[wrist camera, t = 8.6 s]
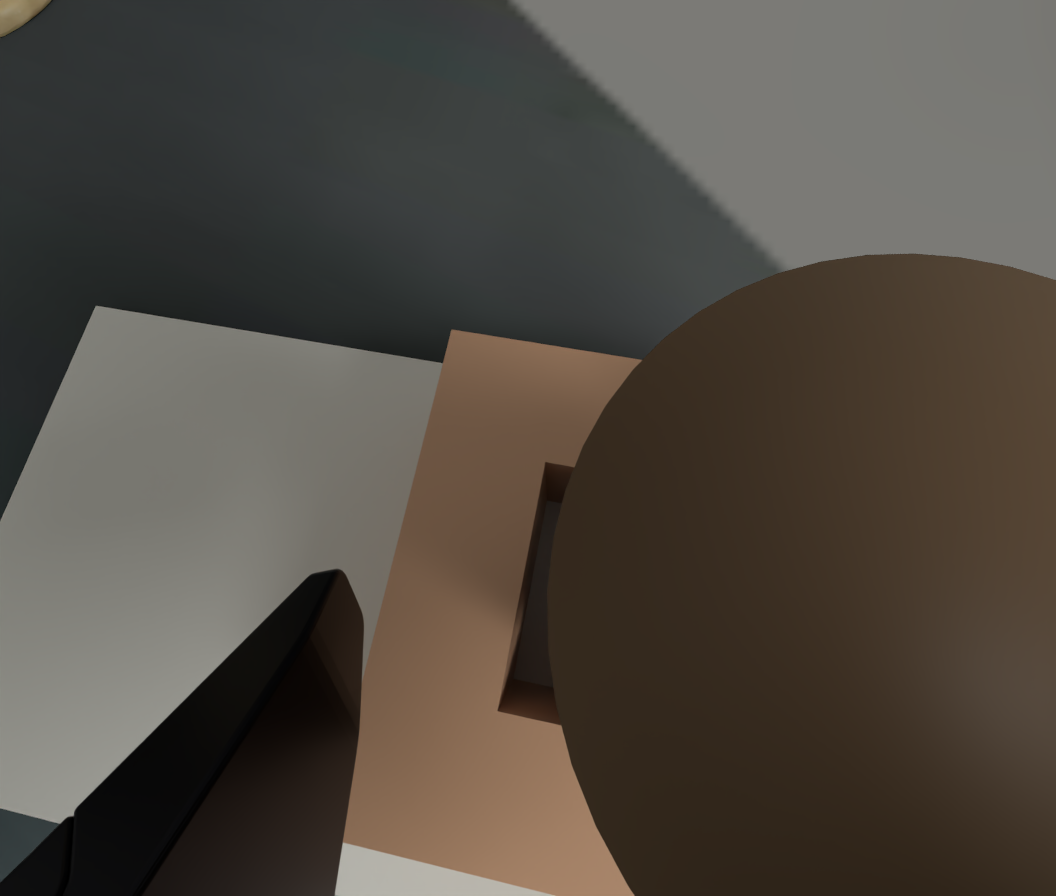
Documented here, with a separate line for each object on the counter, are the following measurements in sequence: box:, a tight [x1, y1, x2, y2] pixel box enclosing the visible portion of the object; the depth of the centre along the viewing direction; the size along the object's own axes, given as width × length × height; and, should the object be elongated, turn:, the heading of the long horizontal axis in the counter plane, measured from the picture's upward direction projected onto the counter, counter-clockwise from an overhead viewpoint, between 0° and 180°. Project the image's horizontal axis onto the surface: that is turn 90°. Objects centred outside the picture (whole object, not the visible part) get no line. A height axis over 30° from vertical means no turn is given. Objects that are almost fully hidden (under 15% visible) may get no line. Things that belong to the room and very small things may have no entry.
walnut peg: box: [547, 254, 1056, 896], centre depth 9 cm, size 4×4×13 cm
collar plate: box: [0, 306, 642, 896], centre depth 13 cm, size 14×24×5 cm, turn 79°
